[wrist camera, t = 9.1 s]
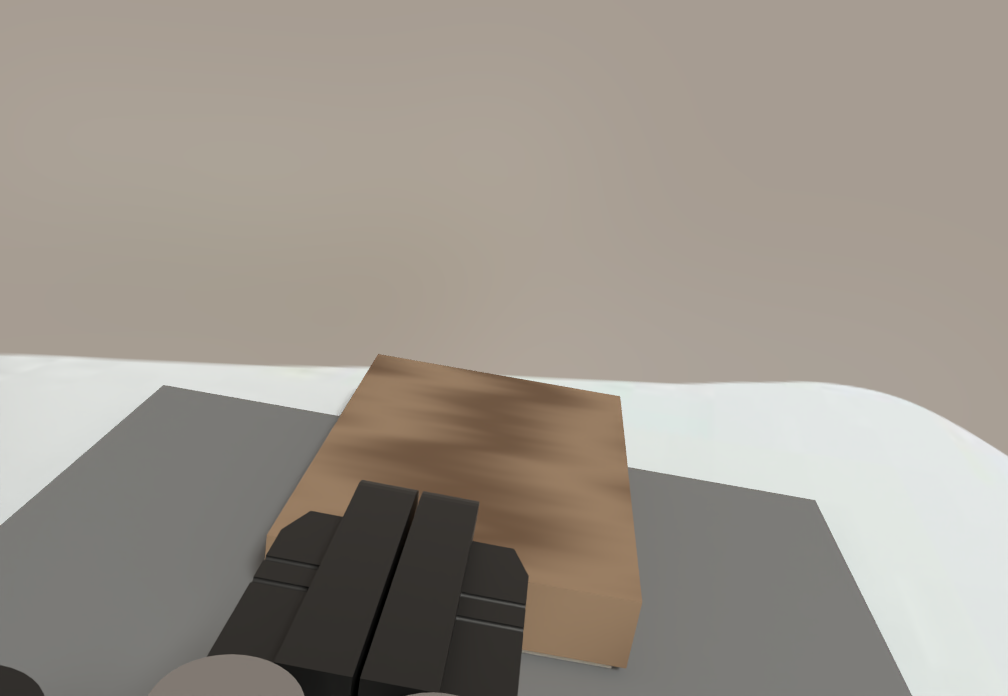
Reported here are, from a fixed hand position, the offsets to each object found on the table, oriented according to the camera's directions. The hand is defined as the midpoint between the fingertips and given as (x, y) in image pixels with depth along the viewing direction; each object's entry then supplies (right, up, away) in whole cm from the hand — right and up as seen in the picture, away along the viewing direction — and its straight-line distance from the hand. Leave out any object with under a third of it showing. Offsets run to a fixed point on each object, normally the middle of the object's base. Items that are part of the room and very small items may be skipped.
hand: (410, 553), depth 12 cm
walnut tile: (0, -4, +11) cm, 11 cm away
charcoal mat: (0, -4, +15) cm, 15 cm away
